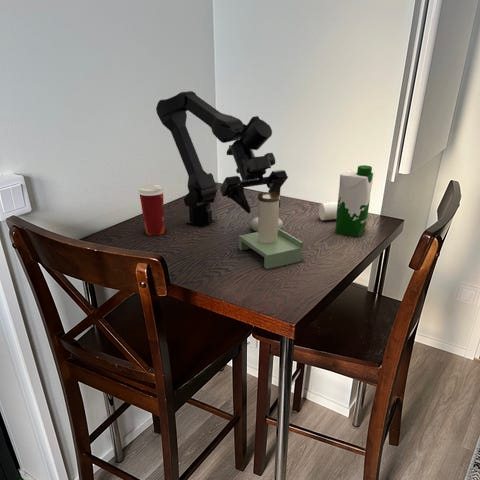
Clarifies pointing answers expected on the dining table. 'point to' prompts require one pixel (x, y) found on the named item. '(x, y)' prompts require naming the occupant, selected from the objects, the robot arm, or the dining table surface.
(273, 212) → the canister
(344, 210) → the milk carton
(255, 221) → the donut
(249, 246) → the shelf
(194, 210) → the robot arm
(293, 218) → the dining table surface
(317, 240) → the dining table surface
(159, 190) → the paper cup
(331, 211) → the roll
